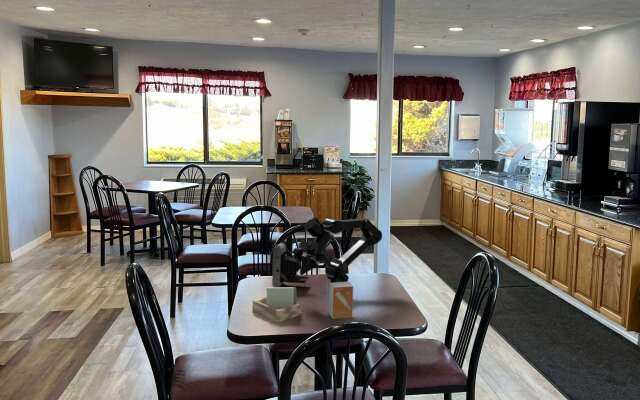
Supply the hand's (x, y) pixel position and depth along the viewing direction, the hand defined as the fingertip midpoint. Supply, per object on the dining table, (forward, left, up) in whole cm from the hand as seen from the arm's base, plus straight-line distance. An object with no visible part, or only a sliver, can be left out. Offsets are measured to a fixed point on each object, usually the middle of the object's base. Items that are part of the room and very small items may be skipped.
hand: (301, 274), depth 227 cm
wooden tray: (+8, +11, -13) cm, 19 cm away
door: (+6, +12, -12) cm, 18 cm away
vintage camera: (+8, -24, -13) cm, 28 cm away
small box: (-17, +11, -13) cm, 25 cm away
